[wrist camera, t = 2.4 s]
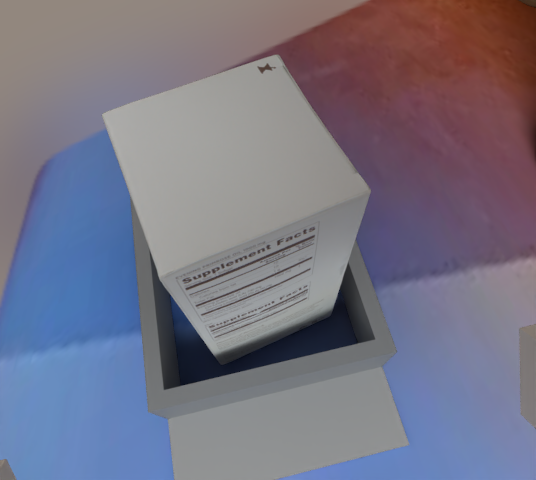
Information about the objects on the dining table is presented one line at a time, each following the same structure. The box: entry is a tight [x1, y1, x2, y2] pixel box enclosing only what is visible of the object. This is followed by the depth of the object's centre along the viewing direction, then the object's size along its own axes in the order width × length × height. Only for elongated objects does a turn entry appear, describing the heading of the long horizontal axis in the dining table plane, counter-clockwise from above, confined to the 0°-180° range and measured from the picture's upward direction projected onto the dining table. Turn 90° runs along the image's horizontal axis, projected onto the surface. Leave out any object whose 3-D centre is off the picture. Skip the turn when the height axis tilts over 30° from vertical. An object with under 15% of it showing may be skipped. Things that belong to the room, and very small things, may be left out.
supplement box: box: [102, 55, 371, 365], centre depth 25 cm, size 10×9×17 cm
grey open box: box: [130, 196, 409, 480], centre depth 30 cm, size 15×26×5 cm, turn 13°
